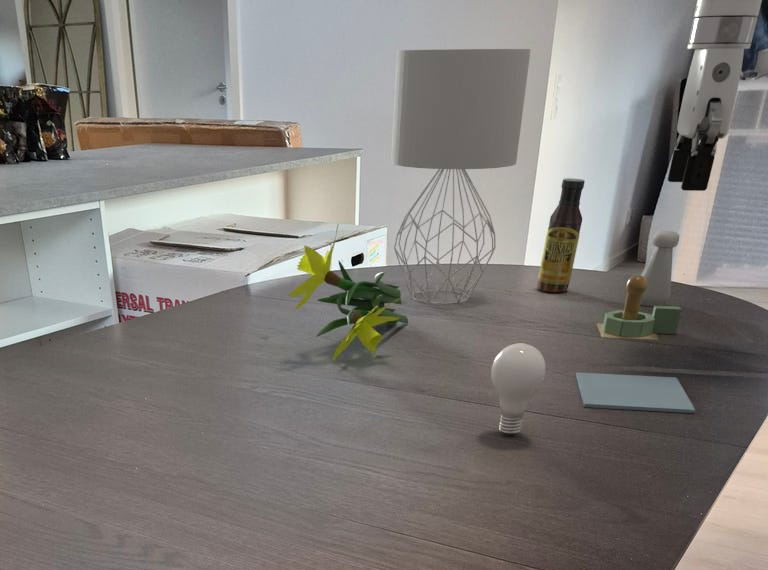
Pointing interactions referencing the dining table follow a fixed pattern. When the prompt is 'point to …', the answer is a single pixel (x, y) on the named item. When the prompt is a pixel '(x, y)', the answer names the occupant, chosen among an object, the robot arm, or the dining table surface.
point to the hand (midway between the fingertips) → (686, 185)
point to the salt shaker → (660, 269)
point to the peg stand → (631, 305)
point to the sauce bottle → (562, 239)
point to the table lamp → (456, 129)
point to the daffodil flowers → (350, 299)
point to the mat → (633, 392)
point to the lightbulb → (516, 382)
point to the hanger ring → (643, 322)
